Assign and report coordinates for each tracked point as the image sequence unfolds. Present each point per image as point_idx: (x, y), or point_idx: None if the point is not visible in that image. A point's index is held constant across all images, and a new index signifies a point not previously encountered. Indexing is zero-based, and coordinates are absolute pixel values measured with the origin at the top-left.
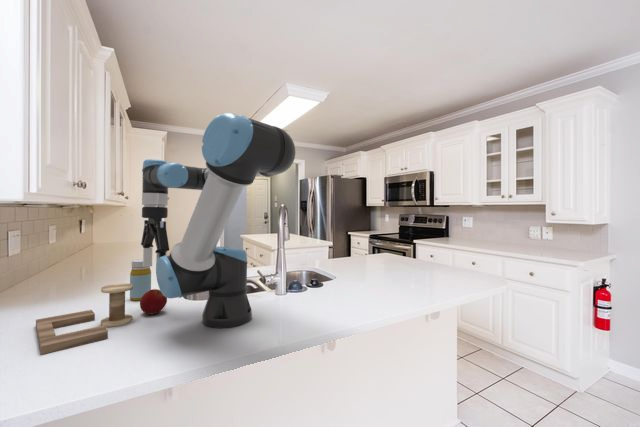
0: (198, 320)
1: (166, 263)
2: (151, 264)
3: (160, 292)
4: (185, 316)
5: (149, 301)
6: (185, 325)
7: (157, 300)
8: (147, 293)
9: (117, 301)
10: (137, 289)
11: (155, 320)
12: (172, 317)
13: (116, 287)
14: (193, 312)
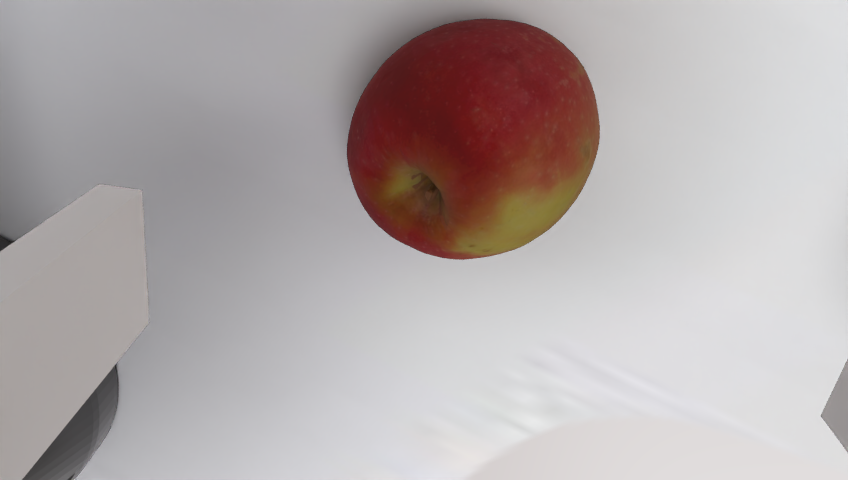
0: None
1: None
2: (840, 428)
3: (439, 221)
4: (206, 228)
5: (385, 67)
6: (13, 132)
7: (349, 132)
8: (465, 96)
9: None
10: None
11: (279, 40)
12: (253, 158)
13: None
14: (252, 305)
